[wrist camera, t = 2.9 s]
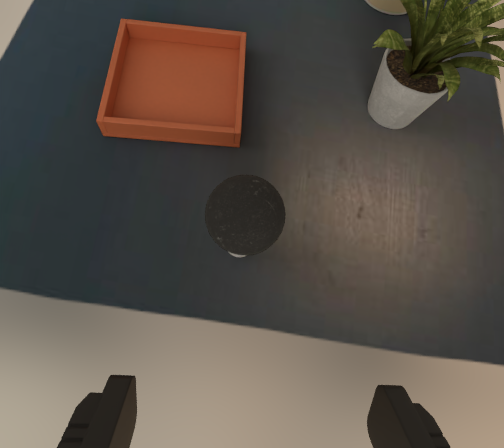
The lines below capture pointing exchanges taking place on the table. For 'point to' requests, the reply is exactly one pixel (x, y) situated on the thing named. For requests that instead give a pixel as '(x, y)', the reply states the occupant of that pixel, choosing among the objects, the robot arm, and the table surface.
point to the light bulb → (245, 215)
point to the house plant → (432, 57)
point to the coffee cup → (388, 6)
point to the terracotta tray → (174, 84)
